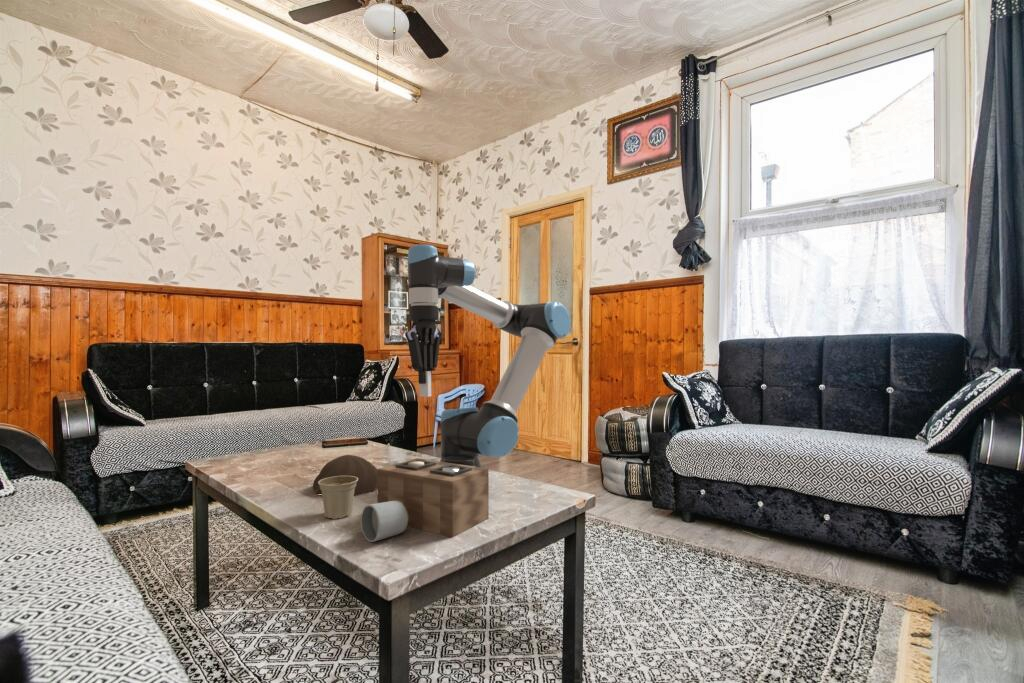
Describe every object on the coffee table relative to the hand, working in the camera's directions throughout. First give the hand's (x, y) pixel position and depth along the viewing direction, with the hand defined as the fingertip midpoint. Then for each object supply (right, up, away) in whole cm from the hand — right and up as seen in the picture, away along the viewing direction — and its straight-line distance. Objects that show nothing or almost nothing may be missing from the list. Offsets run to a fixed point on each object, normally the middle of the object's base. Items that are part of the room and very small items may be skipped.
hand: (425, 396), depth 125 cm
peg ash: (-1, -27, -5) cm, 28 cm away
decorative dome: (-27, -30, +19) cm, 44 cm away
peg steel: (+8, -27, -11) cm, 30 cm away
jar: (+8, -29, +4) cm, 31 cm away
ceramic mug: (-6, -29, -19) cm, 35 cm away
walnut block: (+3, -29, -8) cm, 30 cm away
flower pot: (-21, -29, -5) cm, 36 cm away
